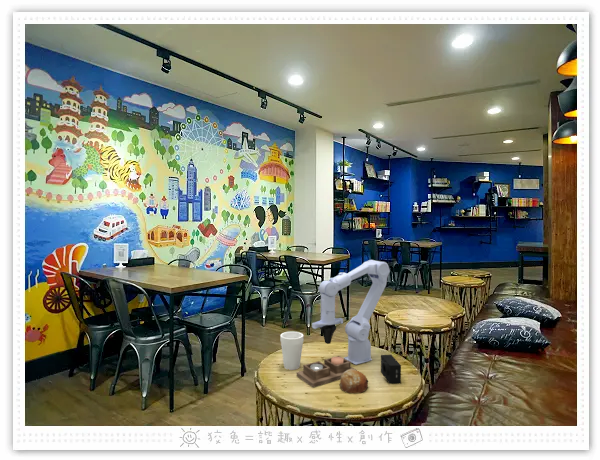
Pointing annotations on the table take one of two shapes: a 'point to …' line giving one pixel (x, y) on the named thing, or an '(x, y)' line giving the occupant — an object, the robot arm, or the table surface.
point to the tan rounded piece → (337, 360)
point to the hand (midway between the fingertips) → (327, 343)
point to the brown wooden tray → (323, 372)
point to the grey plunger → (316, 367)
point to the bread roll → (353, 381)
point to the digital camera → (391, 369)
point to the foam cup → (291, 349)
